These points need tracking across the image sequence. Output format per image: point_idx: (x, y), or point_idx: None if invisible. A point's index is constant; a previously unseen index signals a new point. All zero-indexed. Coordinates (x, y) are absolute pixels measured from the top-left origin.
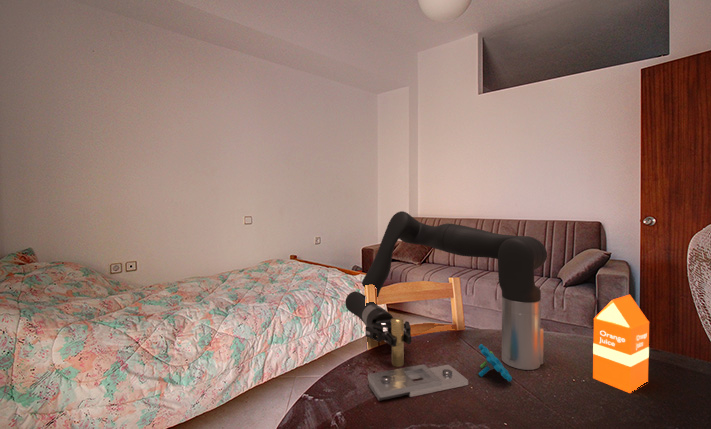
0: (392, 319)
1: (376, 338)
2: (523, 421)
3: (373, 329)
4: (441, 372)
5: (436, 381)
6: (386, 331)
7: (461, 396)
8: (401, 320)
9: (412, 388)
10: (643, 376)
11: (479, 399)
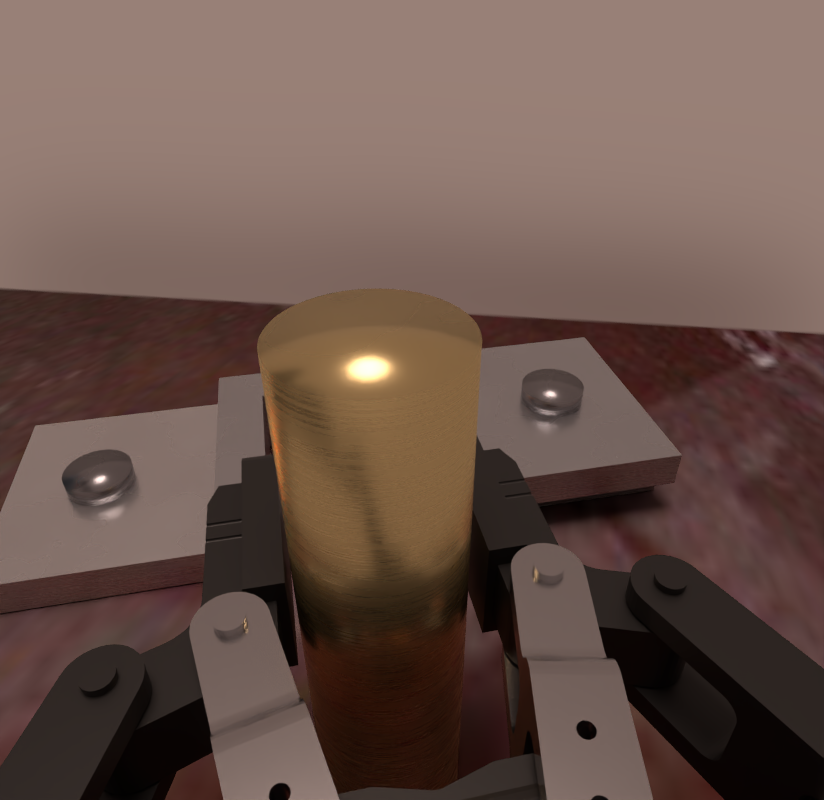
0: (464, 331)
1: (698, 701)
2: (65, 294)
3: (810, 717)
4: (125, 502)
5: (256, 374)
6: (547, 572)
7: (164, 391)
8: (323, 301)
9: None
10: None
11: (101, 372)
